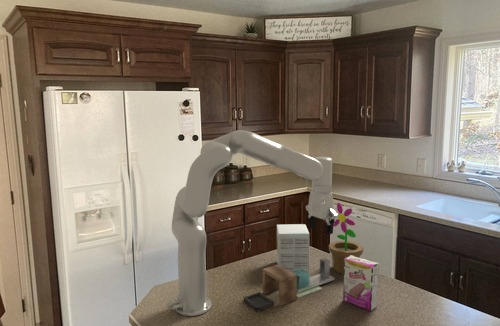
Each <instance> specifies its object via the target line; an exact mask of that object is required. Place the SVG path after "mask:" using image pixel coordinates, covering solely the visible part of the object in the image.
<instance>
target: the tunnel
mask: <svg viewBox="0 0 500 326" xmlns="http://www.w3.org/2000/svg"><path fill="white" fill-rule="evenodd" d="M275 291H279V292H278V293H279V296H278V297H279V299H278V300H279V301H278V302H279V303H278V304H279V305H280V306H283V305H285V304H288V303H293V302H294V301H297V298H298V297H297V275H296V274H294V273H292V272H290V271H288V270H287V269H285V268H283V267H281V266H279V265H278V264H275V265H271V266H268V267H265V268H262V294H263V295H266V294H269V293H272V292H275Z"/></svg>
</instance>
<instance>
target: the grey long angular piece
mask: <svg viewBox="0 0 500 326" xmlns="http://www.w3.org/2000/svg"><path fill="white" fill-rule="evenodd" d="M319 262H320V263H319V273H318V274H315V275H312V276H310V272H309V273H308V272H306V271H304V270H302V269H298V270H295V271H292V273H294V274H296V275H297V292H301V291H304V290H307V289H310V288H313V287H315V286H320V285H324V284H326V283H329V282H332V281H335V276H332V275H330V259H328V258H325V257H324V258H321V259H319Z"/></svg>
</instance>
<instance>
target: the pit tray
mask: <svg viewBox="0 0 500 326" xmlns="http://www.w3.org/2000/svg"><path fill="white" fill-rule="evenodd" d="M243 302H244V303H245V304H247V305H248V306H249V307H251V308H252V309H254V311H256V312H261V311H264V310H266V309H269V308H272V307H274V306H275V302H274V301H273V300H271V298H269V297H268V296H266V295H265V294H264V293H261V292H260V291H258V292H256V293H253V294H250V295H247V296H243Z"/></svg>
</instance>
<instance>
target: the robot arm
mask: <svg viewBox="0 0 500 326" xmlns="http://www.w3.org/2000/svg"><path fill="white" fill-rule="evenodd" d="M199 153H200V154H199V155H198V156H197V157H196V158H195V159H194V160H193V162H192V163H191V165H190V168H189V171H188V174H187V180H186V183H185V186H184V187H182V188H180V190H178V192H177V194H176V196H175V201H174V207H173V213H172V219H171V232H172V234H173V236H174V238H175V239H176V241H177V247H178V248H177V271H178V272H177V273H178V293H179V294H178V295H176V298H175V299H174V300H173V301H169V302H166V303H165V306H166V309H170V308H172V310H175V311H176V312H177V313H178V314H180V315H181V316H186V317H187V316H188V317H194V316H195V317H196V316H199V315H200V316H201V315H202V314H205V313H206V312H209V310H210V309H211V308H212V301H211V300H210V298H208V297H207V269H206V267H207V266H206V248H207V233H206V230H205V229H204V227H203V225H202V224H201V223H200V222H199V221H198V220H199V218H201V217H203V216H205V215H206V213H207V212H208V209H209V202H210V198H211V197H210V195H211V189H212V185H213V180H214V177H215V175H216V174H217V173H218V171H220V170H222V169H223V168H225V167H227V166H228V165H229V164H231V161H232V159H233V156H235V155H237V154H241V155H244V156H246V157H249V158H250V159H254V160H256V161H259V162H261V163H263V164H266V165H269V166H271V167H273V168H276V169H280V170H284V171H288V172H290V173H293V174H295V175H297V176H298V177H301V178H305V179H307V180H311V190H310V193H309V197H308V204H307V205H305V210H306V214H307V217H308V219H309V220H308V228H309V229H313V228H316V227H317V218H318V219H321V220H324V221H325V222H326V225H325V234H326V236H327V235H329V236H330V235H333V234H334V227H333V224H335V222H336V221H337V219H338V215H339V213H338V212H337V211H336V210H334V198H333V193H332V190H333V189H332V187H333V184H332V182H333V159H332V158H331V157H328V156H317V157H316V156H315V157H311V156H308V155H307V154H303V153H301V152H299V151H296V150H294V149H292V148H289V147H288V146H285V145H283V144H280V143H279V142H275V141H273V140H272V139H269V138H266V137H264V136H262V135H259V134H258V133H255V132H252V131H248V130H245V129H243V130H242V129H238V130H234V131H231V132H228V133H226V134H224V135H221V136H219V137H216V138H214V139H211V140H208V141H207V142H205V143H204V144H203V145H202V147H201V148H200V152H199ZM335 211H336V212H337V213H338V214H337V213H336V212H335Z"/></svg>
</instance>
